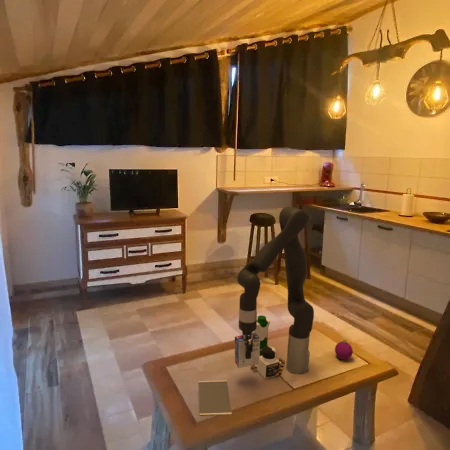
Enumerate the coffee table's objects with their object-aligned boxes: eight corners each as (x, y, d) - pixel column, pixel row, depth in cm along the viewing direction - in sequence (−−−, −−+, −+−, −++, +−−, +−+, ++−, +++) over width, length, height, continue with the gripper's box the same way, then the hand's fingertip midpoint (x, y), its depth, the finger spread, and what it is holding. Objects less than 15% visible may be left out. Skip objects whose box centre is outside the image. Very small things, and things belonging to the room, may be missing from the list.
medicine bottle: (265, 379, 161) (267, 354, 158) (256, 370, 167) (258, 346, 164) (278, 375, 164) (280, 350, 161) (269, 366, 170) (271, 343, 167)
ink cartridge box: (254, 357, 162) (255, 327, 158) (260, 364, 157) (261, 333, 153) (233, 361, 159) (234, 330, 155) (238, 368, 153) (238, 337, 150)
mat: (226, 381, 159) (226, 380, 159) (231, 414, 139) (231, 413, 139) (198, 382, 158) (198, 381, 158) (199, 415, 138) (199, 414, 138)
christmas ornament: (339, 351, 184) (341, 333, 182) (354, 358, 179) (356, 339, 177) (331, 357, 179) (332, 339, 176) (346, 365, 173) (348, 345, 171)
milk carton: (255, 360, 175) (257, 321, 170) (244, 351, 182) (246, 313, 178) (270, 355, 179) (272, 317, 175) (258, 346, 187) (260, 309, 182)
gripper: (259, 325, 146) (258, 363, 150) (253, 309, 160) (253, 344, 164) (241, 326, 146) (240, 364, 149) (236, 310, 160) (236, 345, 163)
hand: (247, 353), depth 157 cm, fingers closed on ink cartridge box, 6 cm apart
